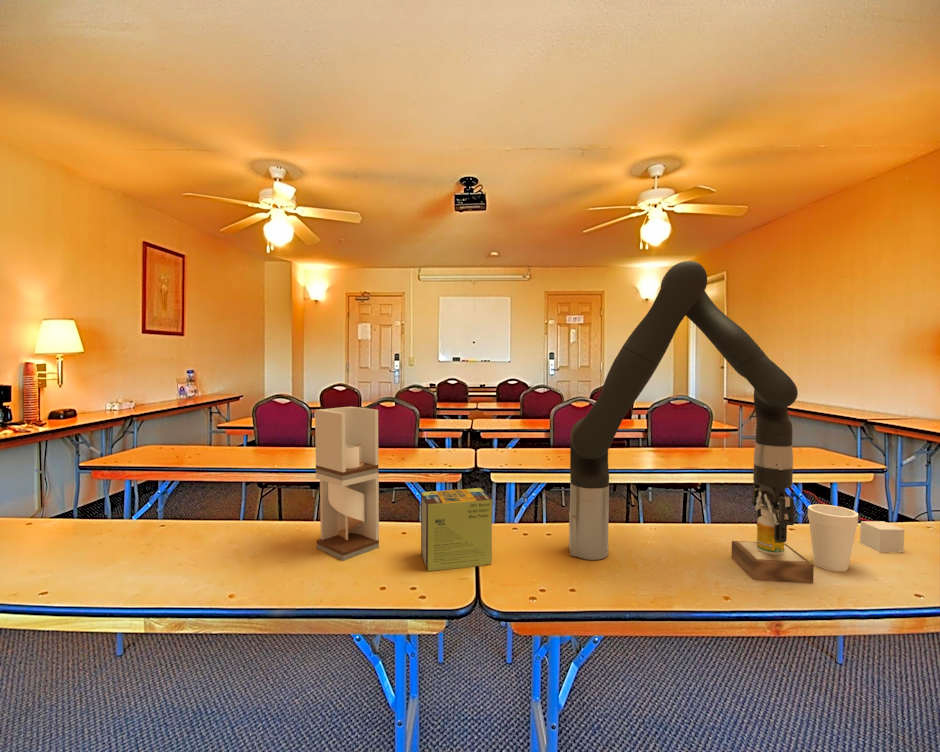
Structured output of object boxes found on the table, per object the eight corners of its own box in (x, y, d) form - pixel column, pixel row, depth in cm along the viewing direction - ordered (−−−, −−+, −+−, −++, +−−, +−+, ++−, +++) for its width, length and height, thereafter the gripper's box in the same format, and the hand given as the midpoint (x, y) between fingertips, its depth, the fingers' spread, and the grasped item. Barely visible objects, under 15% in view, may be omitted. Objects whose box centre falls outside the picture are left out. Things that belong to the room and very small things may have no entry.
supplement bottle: (763, 544, 115) (764, 504, 115) (788, 552, 111) (789, 510, 110) (751, 549, 112) (753, 508, 112) (777, 557, 108) (778, 514, 107)
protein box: (492, 565, 114) (493, 499, 113) (427, 572, 110) (427, 504, 109) (480, 547, 124) (480, 487, 123) (420, 553, 120) (420, 491, 119)
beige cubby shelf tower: (316, 548, 123) (315, 409, 122) (352, 536, 131) (350, 406, 130) (343, 560, 116) (341, 413, 114) (378, 547, 124) (378, 409, 122)
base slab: (753, 579, 106) (754, 560, 106) (731, 557, 118) (731, 539, 118) (813, 583, 105) (813, 563, 105) (784, 559, 117) (785, 542, 117)
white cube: (879, 553, 121) (880, 529, 121) (859, 544, 127) (860, 521, 127) (903, 553, 121) (904, 529, 121) (882, 543, 127) (883, 521, 127)
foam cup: (850, 561, 116) (852, 507, 115) (862, 577, 107) (864, 519, 107) (802, 554, 120) (804, 502, 119) (810, 569, 111) (812, 513, 111)
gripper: (742, 456, 118) (740, 523, 119) (770, 470, 104) (768, 545, 105) (775, 457, 117) (773, 524, 118) (808, 471, 103) (805, 547, 104)
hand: (770, 534), depth 111 cm, fingers open, 8 cm apart
